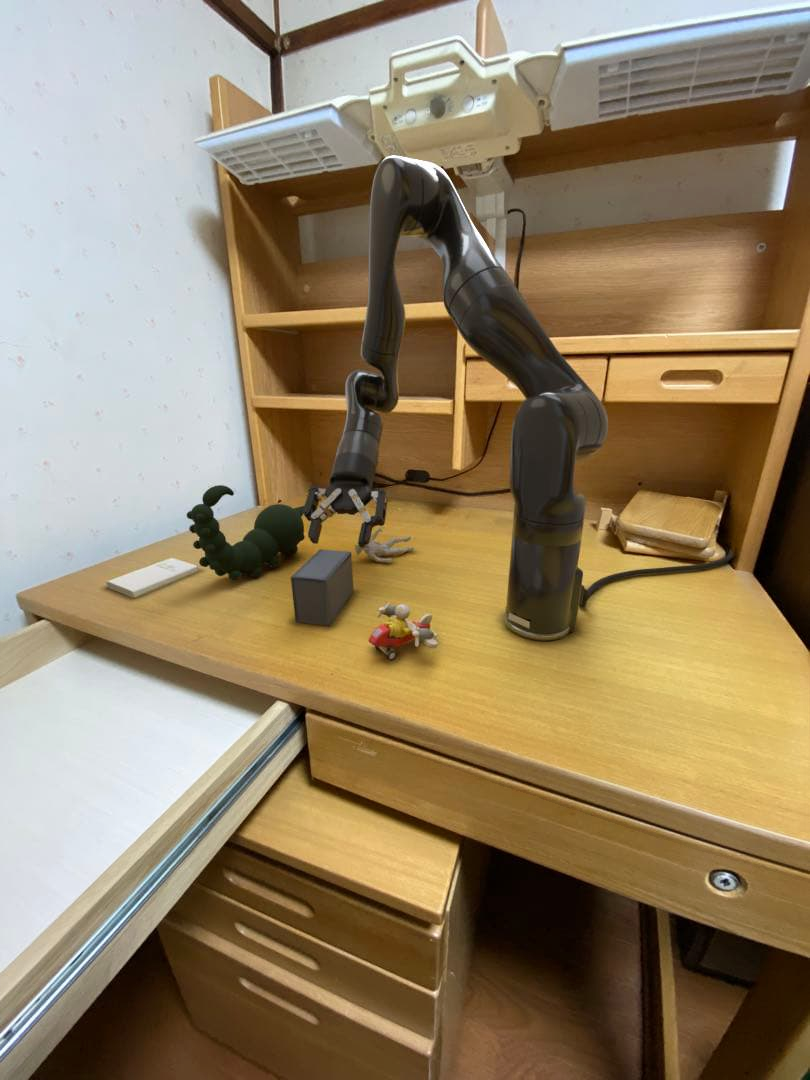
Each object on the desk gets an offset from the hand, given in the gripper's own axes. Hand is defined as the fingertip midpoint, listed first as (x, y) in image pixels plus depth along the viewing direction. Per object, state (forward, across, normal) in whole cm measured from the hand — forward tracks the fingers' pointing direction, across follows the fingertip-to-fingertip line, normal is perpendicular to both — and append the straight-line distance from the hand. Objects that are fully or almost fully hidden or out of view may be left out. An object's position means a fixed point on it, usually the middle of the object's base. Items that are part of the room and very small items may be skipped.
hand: (337, 543), depth 77 cm
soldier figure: (-5, +4, +17) cm, 18 cm away
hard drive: (+9, -35, +4) cm, 36 cm away
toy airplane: (+16, +15, -4) cm, 23 cm away
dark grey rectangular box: (+10, 0, +1) cm, 11 cm away
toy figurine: (+2, -18, +10) cm, 21 cm away
